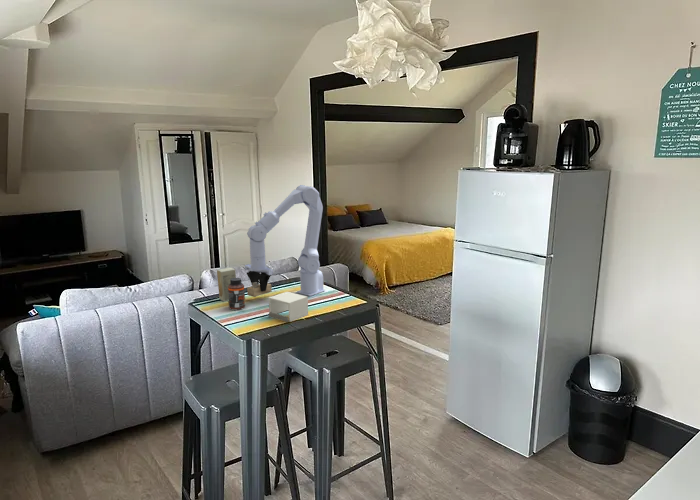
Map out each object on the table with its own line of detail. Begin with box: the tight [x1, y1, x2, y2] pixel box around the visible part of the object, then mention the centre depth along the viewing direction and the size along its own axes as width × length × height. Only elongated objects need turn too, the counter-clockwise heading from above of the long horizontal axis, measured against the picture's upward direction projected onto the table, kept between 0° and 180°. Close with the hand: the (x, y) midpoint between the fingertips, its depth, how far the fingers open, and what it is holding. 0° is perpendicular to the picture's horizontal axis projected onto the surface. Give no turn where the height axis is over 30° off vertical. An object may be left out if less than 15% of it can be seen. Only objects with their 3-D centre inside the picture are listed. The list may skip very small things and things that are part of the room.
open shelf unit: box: [268, 291, 309, 323], centre depth 172 cm, size 10×10×7 cm
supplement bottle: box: [228, 277, 246, 311], centre depth 180 cm, size 6×6×11 cm
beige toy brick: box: [246, 282, 273, 298], centre depth 190 cm, size 9×4×5 cm, turn 141°
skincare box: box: [216, 267, 237, 302], centre depth 191 cm, size 6×4×12 cm
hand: (259, 289), depth 190 cm, fingers closed on beige toy brick, 4 cm apart
